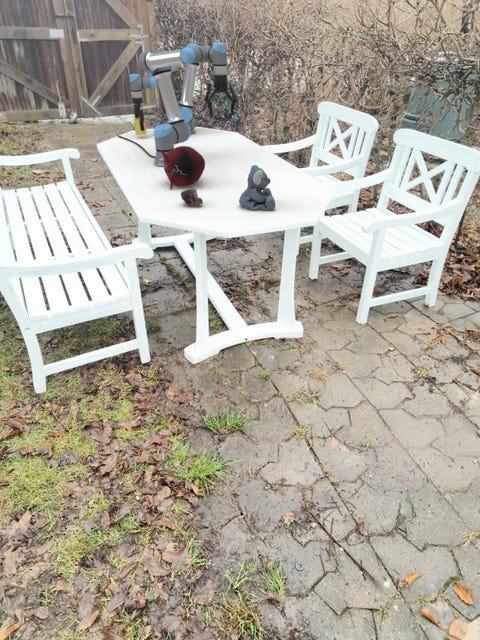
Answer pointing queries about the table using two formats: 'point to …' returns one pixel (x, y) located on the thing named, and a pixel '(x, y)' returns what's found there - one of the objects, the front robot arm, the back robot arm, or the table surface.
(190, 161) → the dark red rounded lump
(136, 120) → the tin
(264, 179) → the koala plush
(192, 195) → the rock
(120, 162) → the table surface
